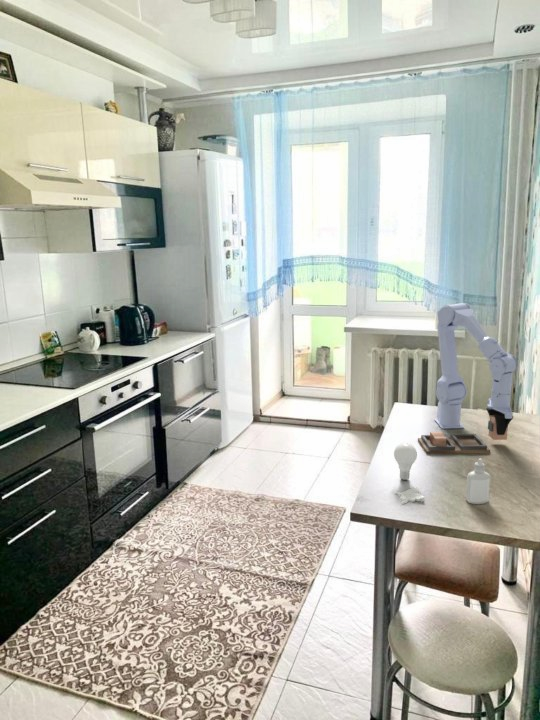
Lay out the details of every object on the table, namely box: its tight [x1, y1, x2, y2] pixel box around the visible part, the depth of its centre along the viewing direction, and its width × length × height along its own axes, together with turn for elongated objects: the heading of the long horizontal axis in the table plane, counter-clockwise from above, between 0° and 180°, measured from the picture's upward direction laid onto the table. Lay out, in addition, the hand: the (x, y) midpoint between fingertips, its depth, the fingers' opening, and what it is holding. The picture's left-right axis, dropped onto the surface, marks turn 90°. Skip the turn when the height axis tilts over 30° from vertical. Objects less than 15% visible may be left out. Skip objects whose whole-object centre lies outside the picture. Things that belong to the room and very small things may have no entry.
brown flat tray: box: [417, 431, 491, 455], centre depth 174 cm, size 11×20×4 cm, turn 89°
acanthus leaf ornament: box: [394, 487, 425, 505], centre depth 144 cm, size 8×7×2 cm
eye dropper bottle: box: [465, 458, 491, 505], centre depth 139 cm, size 4×6×12 cm
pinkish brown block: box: [487, 415, 509, 441], centre depth 175 cm, size 4×5×7 cm
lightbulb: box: [393, 442, 418, 481], centre depth 152 cm, size 6×6×11 cm
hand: (497, 431), depth 175 cm, fingers closed on pinkish brown block, 4 cm apart
